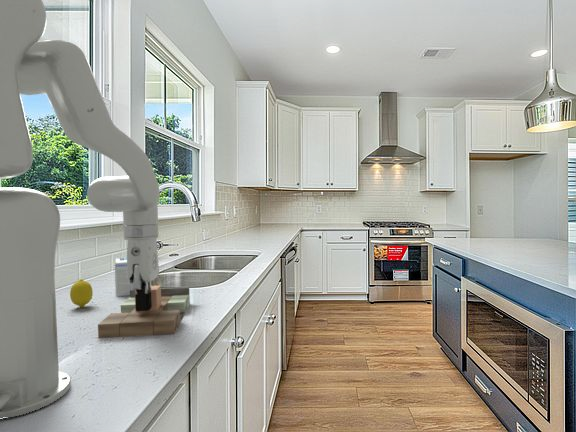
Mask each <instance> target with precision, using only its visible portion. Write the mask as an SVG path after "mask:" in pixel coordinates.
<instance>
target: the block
mask: <svg viewBox="0 0 576 432" xmlns="http://www.w3.org/2000/svg"><path fill="white" fill-rule="evenodd" d="M161 288H162V286H161V285H151V302H152V308H151V309H150V310H149V311H155V310H158V308H159V307H160V306H161ZM135 310H136V302H135Z"/></svg>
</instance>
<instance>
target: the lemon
mask: <svg viewBox="0 0 576 432" xmlns="http://www.w3.org/2000/svg"><path fill="white" fill-rule="evenodd" d="M93 292H94V291H93V287H92V285H91V283H90V282H88V281H86V280H84V279H79V280H77V281H76V282H74V283H73V284H72V285H71V288H70V291H69V297H70V300H71V302H72V304H74V305H75V306H78V307H80V308H84V307H85V306H86V305H87V304H89V303H90V302H91V300H92V298H93V294H94V293H93Z"/></svg>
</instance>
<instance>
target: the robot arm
mask: <svg viewBox="0 0 576 432" xmlns="http://www.w3.org/2000/svg"><path fill="white" fill-rule="evenodd" d="M46 12H47V10H46V7H45V5H44V3H43V1H42V0H0V180H2V179H3V180H4V179H5V180H7V179H12V178H16V177H19V176H21V175H24V174H25V173H27V172H28V171H29V170H30V169H31V167H32V165H33V162H34V150H33V144H32V139H31V135H30V131H29V126H28V123H27V118H26V114H25V110H24V105H23V101H22V96H21V95H26V96H32V95H34V96H35V95H46V97H47V99H48V101H49V103H50V105H51V107H52V109H53V112H54V114H55V116H56V118H57V120H58V123H59V124H60V126H61V128H62V130H63V132H64V135H65V136H66V138H67V139H68V140H69V141H71V142H73V143H75V144H76V145H79V146H81V147H84V148H86V149H89V150H91V151H94V152H96V153H99V154H101V155H103V156H105V157H107V158H109V159H111V160H112V161H114V162H115V163H116V164H117V165H118V166H119V167H121V168H122V170H123V171H124V172H125V174H126V175H120V176H103V177H99V178H97V179H95V180H94V181H92V182H91V183H90V185H88V188H87V191H86V196H87V200H88V202H89V204H90V205H91V206H92V207H93V208H95V209H96V210H97V211H101V212H104V213H105V212H106V213H107V212H108V213H122V219H123V220H122V222H123V223H122V224H123V239H124V240H125V241H127V247H126V258H127V277H128V281H129V282H130V283H133V282H134V290H135V302H136V311H149V310H150V309H151V308H152V302H151V286H152V281H154V280H155V279H156V278H157V277H158V276H159V274H160V268H159V267H160V265H159V253H158V244H157V239H158V238H159V216H158V215H159V212H158V211H159V209H158V207H159V206H158V204H159V200H160V193H161V192H160V186H159V182H158V179H157V176H156V174H155V170H154V168H153V165H152V163H151V160H150V158H149V157H148V156H147V154H146V152H144V150H143V149H142V148H141V147H140V146H139V145H138V144H137V143H136V142H135V141H134V140H132V138H131V137H130V136H129V135H127V134H126V133H125V132H123V131H122V130H120V129H119V128H118V127H117V126H116V125H115V124H114V122H113V120H112V118H111V115H110V113H109V111H108V107H107V106H106V103H105V101H104V98H103V96H102V93H101V90H100V88H99V85H98V82H97V81H96V78H95V75H94V73H93V71H92V68H91V65H90V63H89V60H88V58H87V57H86V55H85V53H84V51H83V50H82V49H81V48H80V47H79V46H78V45H77V44H75V43H73V42H70V41H66V40H61V39H48V40H40V39H41V38H42V37H43V35H44V33H45V32H46V31H45V30H46V29H47V28H46V27H47V13H46ZM60 227H61V215H60V210H59V207H58V206H57V204H56V203H55V202H54V200H53V199H52V198H51V197H49V196H48V195H47V194H45V193H43V192H41V191H39V190H36V189H32V188H27V187H0V418H3V417H13V416H17V417H20V416H24V415H27V414H30V413H33V412H36V411H38V410H41V409H43V408H45V407H47V406H49V405H51V404H53V403H55V402H56V401H58V400H59V399H61V398H62V397H64V396H65V395H66V394H67V392H68V391H69V390H70V388H71V386H72V385H71V383H72V382H71V381H72V380H71V376H70V375H69V374H68V373H65V372H63V371H60V370H59V369H60V368H59V350H58V349H59V347H58V346H59V345H58V326H57V325H58V322H57V321H58V320H57V301H56V300H57V298H56V297H57V295H56V281H55V280H56V279H55V278H56V277H55V275H56V274H55V271H56V269H55V267H56V266H55V261H56V249H57V244H58V238H59V235H60ZM60 397H61V398H60ZM57 399H58V400H57ZM54 401H55V402H54ZM50 403H51V404H50ZM44 406H45V407H44ZM42 407H43V408H42ZM40 408H41V409H40ZM35 410H36V411H35ZM32 411H33V412H32ZM29 412H30V413H29ZM26 413H27V414H26ZM23 414H24V415H23ZM19 415H20V416H19ZM13 418H14V417H13Z"/></svg>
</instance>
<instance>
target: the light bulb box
mask: <svg viewBox="0 0 576 432" xmlns="http://www.w3.org/2000/svg"><path fill="white" fill-rule="evenodd" d="M114 261H115V262H114V286H115V297H122V296H123V297H124V296H130V290H131V289H134V282H133V283H130V282H129V281H128V277H127V257H122V258H121V257H120V258H115V259H114Z"/></svg>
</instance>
